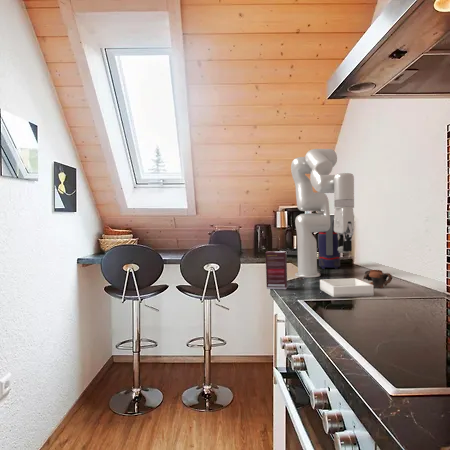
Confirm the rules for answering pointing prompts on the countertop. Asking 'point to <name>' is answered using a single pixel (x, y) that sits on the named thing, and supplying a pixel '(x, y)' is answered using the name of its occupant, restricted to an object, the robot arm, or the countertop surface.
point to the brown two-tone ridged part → (377, 278)
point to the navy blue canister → (329, 247)
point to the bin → (346, 287)
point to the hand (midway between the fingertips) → (344, 249)
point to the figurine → (342, 250)
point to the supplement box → (276, 270)
